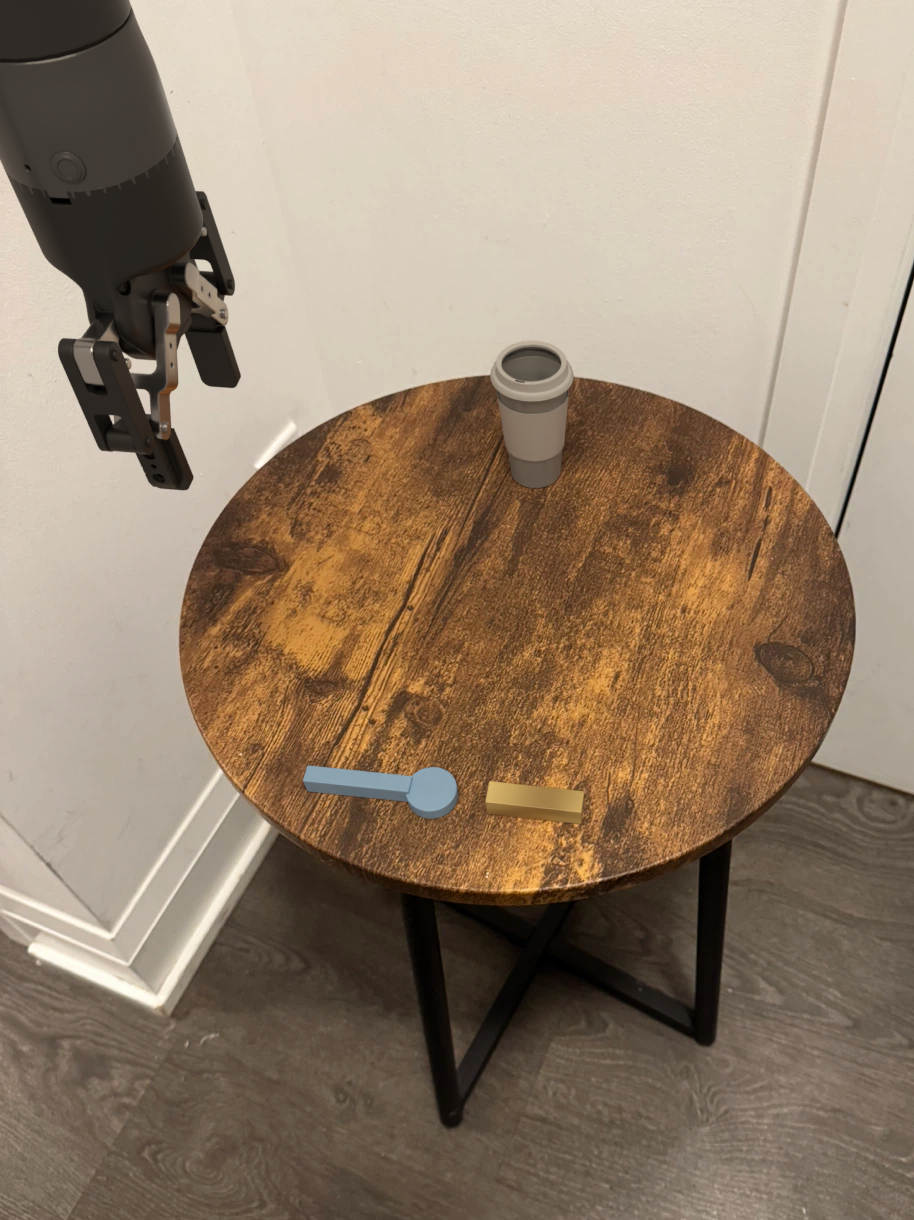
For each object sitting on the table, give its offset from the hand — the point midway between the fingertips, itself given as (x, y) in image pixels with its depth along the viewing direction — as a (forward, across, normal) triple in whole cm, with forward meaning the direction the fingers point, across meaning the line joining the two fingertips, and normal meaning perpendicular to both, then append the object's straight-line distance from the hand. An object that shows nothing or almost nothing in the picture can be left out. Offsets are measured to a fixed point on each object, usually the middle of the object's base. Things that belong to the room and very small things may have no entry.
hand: (199, 432), depth 58 cm
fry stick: (+28, +6, +19) cm, 35 cm away
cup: (+28, -29, +14) cm, 43 cm away
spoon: (+28, +6, +7) cm, 30 cm away
